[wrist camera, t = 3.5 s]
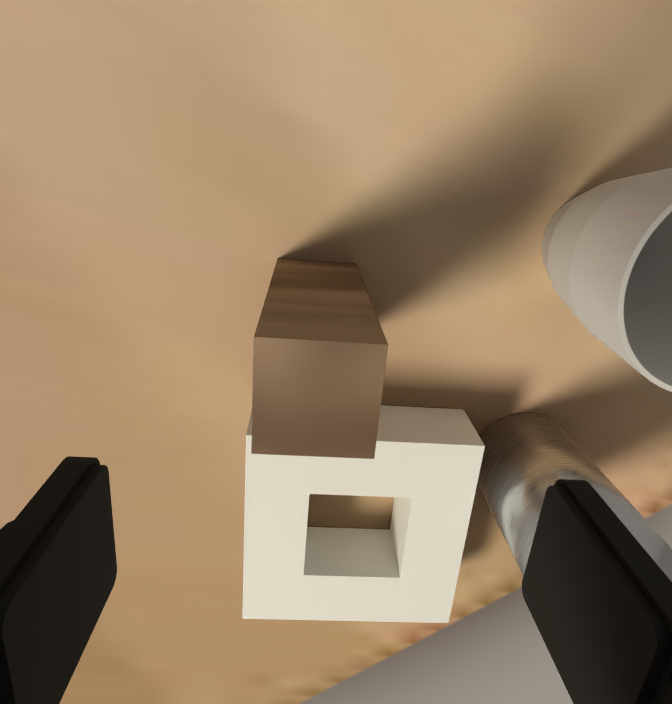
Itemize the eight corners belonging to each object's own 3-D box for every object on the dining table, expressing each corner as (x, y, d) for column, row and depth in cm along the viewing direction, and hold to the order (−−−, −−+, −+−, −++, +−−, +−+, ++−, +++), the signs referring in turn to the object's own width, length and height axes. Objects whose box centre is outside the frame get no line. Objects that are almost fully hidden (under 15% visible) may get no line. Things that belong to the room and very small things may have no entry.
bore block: (254, 398, 29) (246, 435, 26) (463, 409, 30) (484, 445, 26) (250, 566, 34) (242, 618, 30) (433, 571, 34) (448, 622, 31)
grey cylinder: (479, 410, 30) (555, 525, 21) (579, 415, 31) (696, 530, 21) (463, 496, 32) (524, 635, 23) (556, 499, 33) (653, 638, 24)
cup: (522, 332, 29) (624, 420, 19) (502, 182, 26) (611, 200, 16) (669, 295, 28) (846, 366, 19) (666, 138, 25) (873, 131, 16)
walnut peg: (277, 258, 27) (253, 336, 15) (355, 263, 27) (388, 344, 16) (274, 332, 28) (251, 453, 17) (349, 337, 28) (374, 459, 17)
